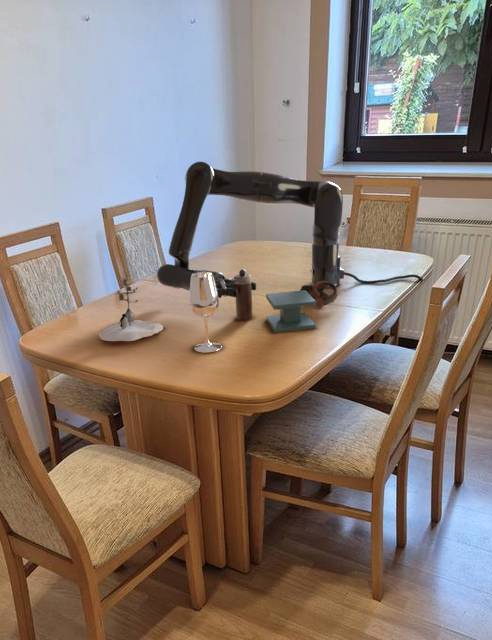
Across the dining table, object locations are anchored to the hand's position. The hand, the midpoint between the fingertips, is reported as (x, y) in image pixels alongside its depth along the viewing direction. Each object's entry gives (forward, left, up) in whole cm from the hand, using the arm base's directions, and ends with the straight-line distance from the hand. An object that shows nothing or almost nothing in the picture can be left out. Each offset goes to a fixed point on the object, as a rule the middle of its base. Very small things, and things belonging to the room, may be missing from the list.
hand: (246, 290), depth 174 cm
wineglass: (+15, +21, -9) cm, 27 cm away
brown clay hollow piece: (-24, -7, -9) cm, 27 cm away
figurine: (+36, +4, -9) cm, 37 cm away
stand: (-11, +9, -9) cm, 17 cm away
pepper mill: (+1, -1, -9) cm, 9 cm away
